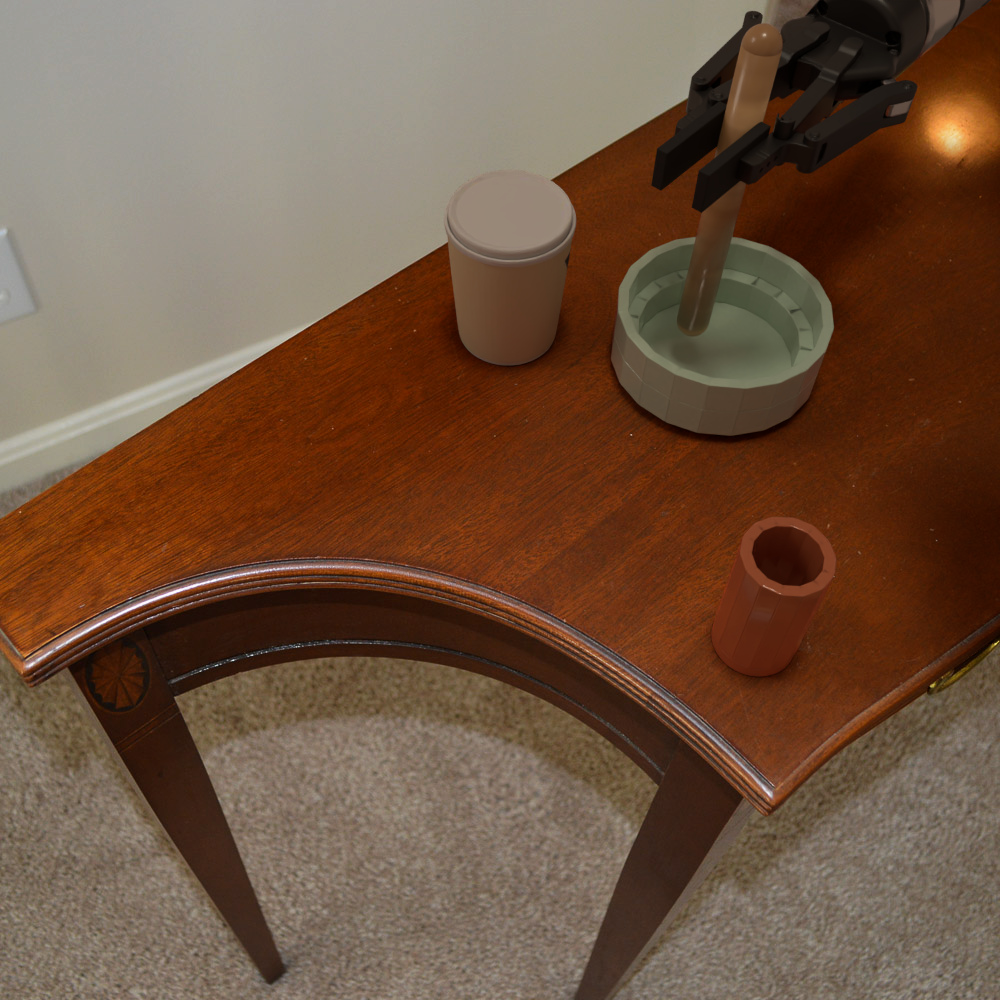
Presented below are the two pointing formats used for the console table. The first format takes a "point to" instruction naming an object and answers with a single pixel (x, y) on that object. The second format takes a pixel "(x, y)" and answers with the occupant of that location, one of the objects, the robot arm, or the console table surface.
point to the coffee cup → (509, 263)
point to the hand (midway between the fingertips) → (679, 180)
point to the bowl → (721, 339)
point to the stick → (721, 216)
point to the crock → (772, 595)
